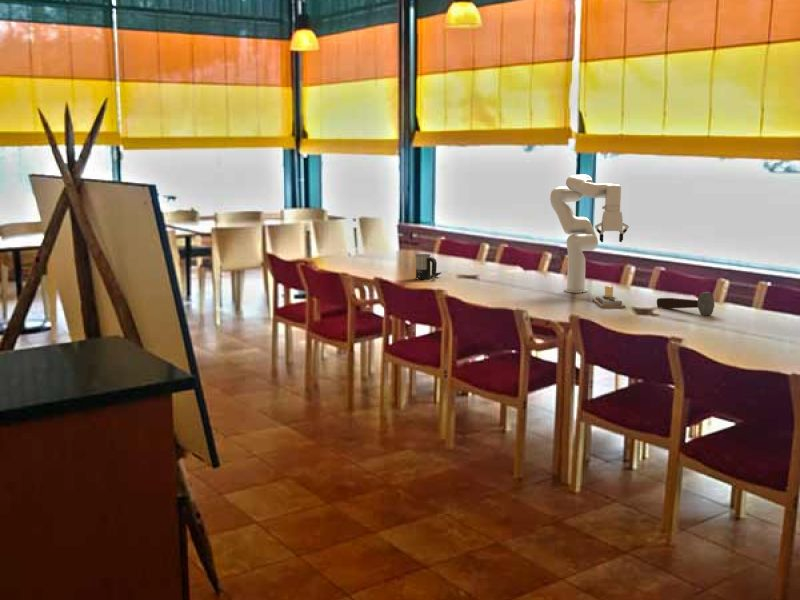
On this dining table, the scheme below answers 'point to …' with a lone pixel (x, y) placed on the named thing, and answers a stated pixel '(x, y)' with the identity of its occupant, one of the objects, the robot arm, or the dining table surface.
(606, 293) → the pin
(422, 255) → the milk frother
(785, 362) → the dining table surface
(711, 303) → the hammer
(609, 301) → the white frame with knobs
